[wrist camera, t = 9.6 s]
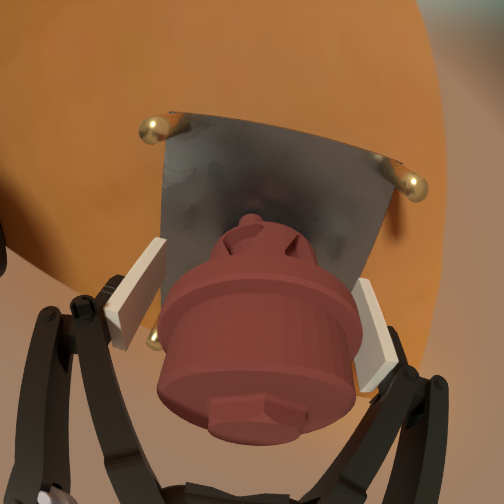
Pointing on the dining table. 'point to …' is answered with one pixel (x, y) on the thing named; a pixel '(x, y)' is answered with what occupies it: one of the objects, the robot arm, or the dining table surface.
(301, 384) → the mechanical component
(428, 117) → the dining table surface
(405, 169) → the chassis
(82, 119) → the dining table surface
